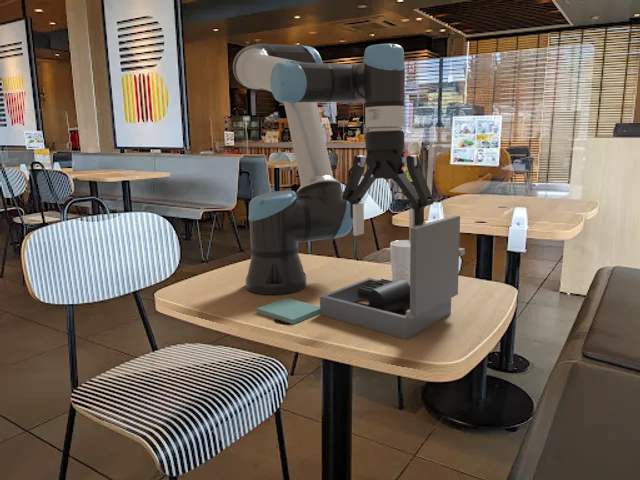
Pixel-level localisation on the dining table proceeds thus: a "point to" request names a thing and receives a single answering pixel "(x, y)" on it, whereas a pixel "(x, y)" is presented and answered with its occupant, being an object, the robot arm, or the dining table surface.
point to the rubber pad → (289, 310)
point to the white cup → (400, 260)
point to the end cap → (386, 295)
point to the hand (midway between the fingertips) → (385, 238)
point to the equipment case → (425, 284)
